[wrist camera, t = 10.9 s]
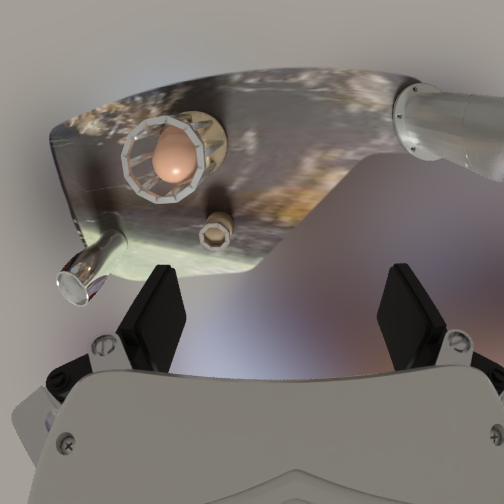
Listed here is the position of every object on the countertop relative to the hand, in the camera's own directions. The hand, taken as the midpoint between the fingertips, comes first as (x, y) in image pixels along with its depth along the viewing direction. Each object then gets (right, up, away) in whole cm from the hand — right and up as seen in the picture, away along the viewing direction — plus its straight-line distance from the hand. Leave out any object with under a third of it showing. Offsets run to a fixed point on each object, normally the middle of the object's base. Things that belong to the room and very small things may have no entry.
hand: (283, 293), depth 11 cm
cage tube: (-10, +17, +26) cm, 33 cm away
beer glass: (-27, +4, +35) cm, 45 cm away
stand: (-6, +6, +32) cm, 33 cm away
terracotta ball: (-10, +12, +18) cm, 24 cm away
